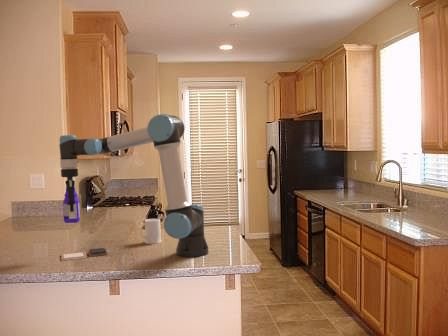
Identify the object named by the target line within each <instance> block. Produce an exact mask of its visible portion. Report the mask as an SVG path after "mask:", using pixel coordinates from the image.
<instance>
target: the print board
mask: <svg viewBox="0 0 448 336" xmlns="http://www.w3.org/2000/svg"><path fill="white" fill-rule="evenodd" d="M60 254H61V256H60V257H61V261H62V260H64V261H71V260H70V259H72V260H79V259H80V258H81V259H87V258H88V256H87V253H86V251H75V252H66V253H60Z"/></svg>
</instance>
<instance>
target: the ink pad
mask: <svg viewBox="0 0 448 336" xmlns="http://www.w3.org/2000/svg"><path fill="white" fill-rule="evenodd" d="M87 253H88V255H89V258H91V257H92V258H93V257H100V256H101V257H102V256H108V251H107V250H106V248H105V247H98V248H97V247H96V248H89V250H88V251H87Z"/></svg>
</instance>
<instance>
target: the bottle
mask: <svg viewBox="0 0 448 336" xmlns="http://www.w3.org/2000/svg"><path fill="white" fill-rule="evenodd" d="M74 188H75V189H74V201H75V218H74V219H69V207H68V205H67V203H69V200H68V191H67V186H66V185H65V194H64V199H63V201H62V209H63V212H62V213H63V222H64V223H65V224H76V223H79V221H80V219H81V214H80V213H81V212H80V211H81V210H80V199H79V197H78V194H77V191H76V185H75V184H74Z"/></svg>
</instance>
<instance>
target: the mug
mask: <svg viewBox="0 0 448 336" xmlns="http://www.w3.org/2000/svg"><path fill="white" fill-rule="evenodd" d="M143 227H144V234H145V236H144V235H142V233H141V232H142V228H143ZM161 229H162V227H161V219H160V218H148V219H147V218H146V219H144V223H143V224H141V226H140V228H139V235H140V237H142V238H143V239H145V242H144V243H145V244H147V245H156V244H157V245H158V244H160V243H162V231H161Z"/></svg>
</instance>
